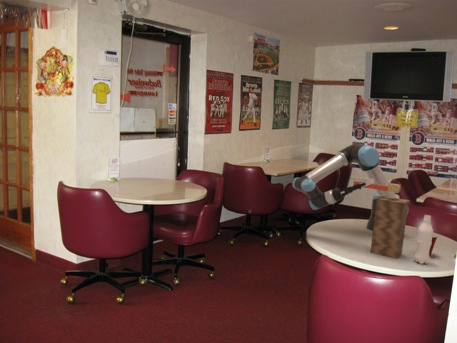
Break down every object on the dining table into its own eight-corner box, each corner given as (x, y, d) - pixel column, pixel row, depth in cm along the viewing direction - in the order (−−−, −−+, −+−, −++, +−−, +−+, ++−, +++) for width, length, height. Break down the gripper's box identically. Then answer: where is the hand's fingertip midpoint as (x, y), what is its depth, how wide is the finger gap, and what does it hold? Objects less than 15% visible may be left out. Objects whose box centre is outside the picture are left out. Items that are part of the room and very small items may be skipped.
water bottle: (419, 264, 233) (425, 217, 229) (410, 260, 240) (417, 213, 236) (431, 264, 235) (438, 217, 231) (423, 260, 242) (429, 214, 238)
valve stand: (369, 252, 248) (375, 198, 244) (375, 247, 257) (381, 195, 253) (397, 259, 240) (404, 203, 235) (402, 254, 249) (409, 200, 244)
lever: (352, 185, 253) (353, 178, 252) (355, 184, 257) (356, 177, 256) (397, 193, 240) (398, 185, 239) (399, 191, 244) (400, 184, 243)
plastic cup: (431, 252, 256) (434, 231, 254) (438, 259, 245) (441, 237, 243) (411, 250, 257) (414, 229, 255) (417, 256, 246) (420, 235, 244)
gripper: (342, 199, 268) (379, 185, 255) (331, 203, 255) (370, 189, 242) (337, 187, 269) (374, 173, 256) (326, 191, 256) (365, 176, 243)
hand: (372, 181), depth 249 cm, fingers closed on lever, 3 cm apart
